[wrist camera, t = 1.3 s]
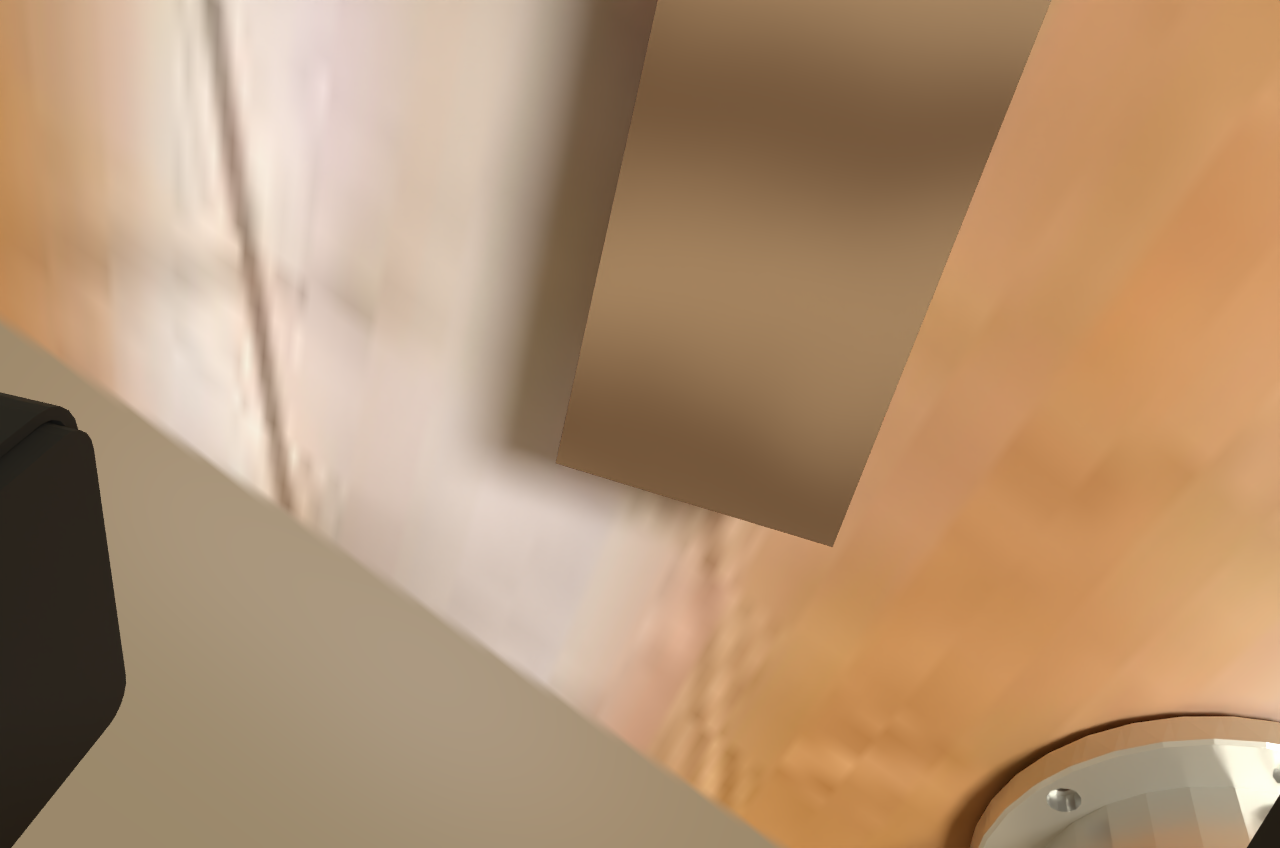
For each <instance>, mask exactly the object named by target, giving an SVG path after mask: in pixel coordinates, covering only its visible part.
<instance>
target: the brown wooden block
mask: <svg viewBox="0 0 1280 848" xmlns="http://www.w3.org/2000/svg"><path fill="white" fill-rule="evenodd" d="M1050 2H1051V0H658V1H657V5H656V10H655V14H654V19H653V24H652V28H651V33H650V37H649V42H648V46H647V51H646V55H645V60H644V64H643V69H642V73H641V78H640V83H639V87H638V92H637V96H636V101H635V105H634V110H633V114H632V119H631V123H630V128H629V132H628V137H627V141H626V146H625V151H624V155H623V160H622V164H621V169H620V173H619V178H618V182H617V187H616V191H615V196H614V200H613V205H612V210H611V214H610V219H609V223H608V228H607V232H606V237H605V241H604V246H603V250H602V255H601V259H600V264H599V269H598V273H597V278H596V282H595V287H594V291H593V296H592V300H591V305H590V309H589V314H588V318H587V323H586V328H585V332H584V337H583V341H582V346H581V350H580V355H579V359H578V364H577V368H576V373H575V377H574V382H573V387H572V391H571V396H570V400H569V405H568V409H567V414H566V418H565V423H564V427H563V432H562V436H561V441H560V445H559V450H558V455H557V459H556V463H557V464H560V465H563V466H567V467H570V468H573V469H576V470H580V471H583V472H586V473H590V474H593V475H596V476H600V477H603V478H606V479H609V480H613V481H616V482H619V483H623V484H626V485H629V486H633V487H636V488H639V489H642V490H646V491H649V492H652V493H656V494H659V495H662V496H666V497H669V498H672V499H675V500H679V501H682V502H685V503H689V504H692V505H695V506H699V507H702V508H705V509H708V510H712V511H715V512H718V513H722V514H725V515H728V516H732V517H735V518H738V519H742V520H745V521H748V522H751V523H755V524H758V525H761V526H765V527H768V528H771V529H775V530H778V531H781V532H784V533H788V534H791V535H794V536H798V537H801V538H804V539H808V540H811V541H814V542H817V543H821V544H824V545H827V546H831V547H833V545H834V542H835V540H836V537H837V535H838V532H839V530H840V527H841V525H842V522H843V520H844V517H845V515H846V512H847V510H848V507H849V505H850V502H851V500H852V497H853V495H854V492H855V490H856V487H857V485H858V482H859V480H860V477H861V475H862V472H863V470H864V467H865V465H866V462H867V460H868V457H869V455H870V452H871V450H872V447H873V445H874V442H875V440H876V437H877V435H878V432H879V430H880V427H881V425H882V422H883V420H884V417H885V415H886V412H887V410H888V407H889V405H890V402H891V400H892V397H893V395H894V392H895V390H896V387H897V385H898V382H899V380H900V377H901V375H902V372H903V370H904V367H905V365H906V362H907V360H908V357H909V355H910V352H911V350H912V347H913V345H914V342H915V340H916V337H917V335H918V332H919V330H920V327H921V325H922V322H923V320H924V317H925V315H926V312H927V310H928V307H929V305H930V302H931V300H932V297H933V295H934V292H935V290H936V287H937V285H938V282H939V280H940V277H941V275H942V272H943V270H944V267H945V265H946V262H947V260H948V257H949V255H950V252H951V250H952V247H953V245H954V242H955V240H956V237H957V235H958V232H959V230H960V227H961V225H962V222H963V220H964V217H965V215H966V212H967V210H968V207H969V205H970V202H971V200H972V197H973V195H974V192H975V190H976V187H977V185H978V182H979V180H980V177H981V175H982V172H983V170H984V167H985V165H986V162H987V160H988V157H989V155H990V152H991V150H992V147H993V145H994V142H995V140H996V137H997V135H998V132H999V130H1000V127H1001V125H1002V122H1003V120H1004V117H1005V115H1006V112H1007V110H1008V107H1009V105H1010V102H1011V100H1012V97H1013V95H1014V92H1015V90H1016V87H1017V85H1018V82H1019V80H1020V77H1021V75H1022V72H1023V70H1024V67H1025V65H1026V62H1027V60H1028V57H1029V55H1030V52H1031V50H1032V47H1033V45H1034V42H1035V40H1036V37H1037V35H1038V32H1039V30H1040V27H1041V25H1042V22H1043V20H1044V17H1045V15H1046V12H1047V10H1048V7H1049V5H1050Z"/></svg>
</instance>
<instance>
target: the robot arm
mask: <svg viewBox="0 0 1280 848" xmlns="http://www.w3.org/2000/svg"><path fill="white" fill-rule="evenodd" d="M125 686H126V674H125V667H124V660H123V653H122V646H121V639H120V632H119V625H118V618H117V610H116V603H115V597H114V589H113V582H112V575H111V568H110V561H109V553H108V546H107V540H106V532H105V525H104V518H103V511H102V504H101V497H100V490H99V483H98V475H97V468H96V461H95V454H94V448H93V444H92V441H91V439H90V437H89V436H88V434H87V433H85V432H83V431H81V430H78V428H77V424H76V421H75V418H74V417H73V416H72V414H71V413H70V412H69V410H67V409H64V408H62V407H60V406H56V405H52V404H47V403H43V402H39V401H35V400H30V399H26V398H22V397H17V396H13V395H9V394H4V393H0V848H11V847H12V846H13V845H14V844H15V842H16V841H17V840H18V838H19V837H20V836H21V835H22V833H23V832H24V831H25V830H26V829H27V827H28V826H29V825H30V823H31V822H32V821H33V820H34V818H35V817H36V816H37V815H38V814H39V812H40V811H41V809H42V808H43V807H44V806H45V805H46V803H47V802H48V801H49V800H50V798H51V797H52V796H53V795H54V793H55V792H56V791H57V790H58V788H59V787H60V786H61V785H62V783H63V782H64V781H65V780H66V778H67V777H68V776H69V775H70V773H71V772H72V771H73V770H74V768H75V767H76V766H77V765H78V763H79V762H80V761H81V759H82V758H83V757H84V756H85V755H86V753H87V752H88V751H89V750H90V748H91V747H92V746H93V745H94V743H95V742H96V741H97V740H98V738H99V737H100V736H101V735H102V733H103V732H104V731H105V730H106V728H107V727H108V726H109V725H110V723H111V722H112V720H113V718H114V717H115V715H116V713H117V711H118V709H119V707H120V705H121V702H122V698H123V696H124V691H125ZM970 848H1280V722H1273V721H1265V720H1257V719H1250V718H1242V717H1234V716H1199V717H1175V718H1168V719H1160V720H1153V721H1145V722H1138V723H1132V724H1128V725H1124V726H1121V727H1117V728H1113V729H1110V730H1106V731H1103V732H1099V733H1095V734H1092V735H1088V736H1086V737H1084V738H1081V739H1079V740H1077V741H1075V742H1072V743H1070V744H1068V745H1066V746H1063V747H1061V748H1059V749H1057V750H1054V751H1052V752H1050V753H1048V754H1046V755H1045V756H1043V757H1042V758H1040V759H1039V760H1037V761H1036V762H1034V763H1033V764H1031V765H1030V766H1028V767H1027V768H1026V769H1024V770H1023V771H1021V772H1020V773H1018V774H1017V775H1015V776H1014V777H1013V778H1012V779H1011V780H1010V781H1009V783H1008V784H1007V785H1006V786H1005V787H1004V788H1003V789H1002V790H1001V791H1000V792H999V793H998V794H997V795H996V796H995V797H994V798H993V799H992V800H991V801H990V803H989V805H988V806H987V808H986V810H985V811H984V813H983V815H982V816H981V818H980V820H979V821H978V823H977V825H976V827H975V830H974V834H973V838H972V841H971V845H970Z"/></svg>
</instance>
